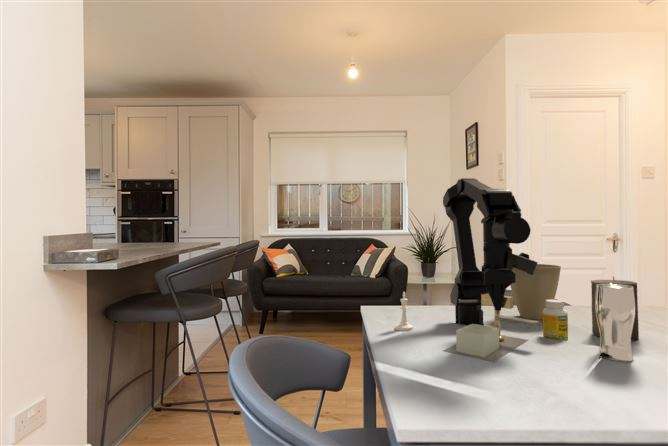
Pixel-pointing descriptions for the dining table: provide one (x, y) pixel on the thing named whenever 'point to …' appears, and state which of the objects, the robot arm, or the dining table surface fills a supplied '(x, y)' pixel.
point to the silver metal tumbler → (615, 320)
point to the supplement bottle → (555, 320)
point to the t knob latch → (507, 303)
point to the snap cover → (477, 340)
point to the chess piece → (404, 317)
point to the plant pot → (535, 290)
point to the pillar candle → (594, 319)
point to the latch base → (504, 348)
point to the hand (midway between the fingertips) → (497, 309)
